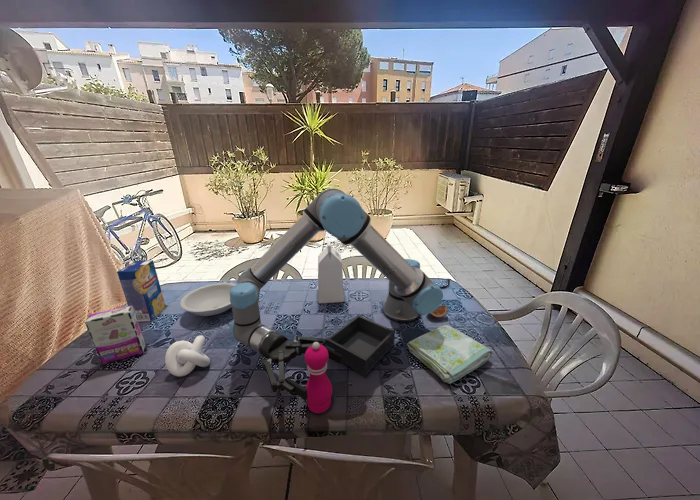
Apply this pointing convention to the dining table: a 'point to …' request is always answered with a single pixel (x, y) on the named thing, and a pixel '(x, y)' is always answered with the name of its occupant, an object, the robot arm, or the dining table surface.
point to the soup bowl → (208, 299)
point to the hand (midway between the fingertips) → (325, 376)
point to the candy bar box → (115, 334)
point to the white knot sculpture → (186, 356)
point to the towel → (449, 353)
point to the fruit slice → (439, 312)
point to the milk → (330, 276)
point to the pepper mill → (318, 378)
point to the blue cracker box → (142, 289)
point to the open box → (362, 343)
